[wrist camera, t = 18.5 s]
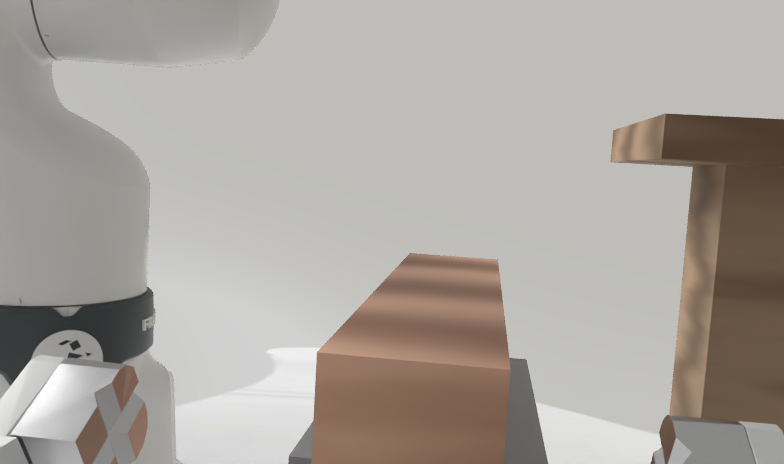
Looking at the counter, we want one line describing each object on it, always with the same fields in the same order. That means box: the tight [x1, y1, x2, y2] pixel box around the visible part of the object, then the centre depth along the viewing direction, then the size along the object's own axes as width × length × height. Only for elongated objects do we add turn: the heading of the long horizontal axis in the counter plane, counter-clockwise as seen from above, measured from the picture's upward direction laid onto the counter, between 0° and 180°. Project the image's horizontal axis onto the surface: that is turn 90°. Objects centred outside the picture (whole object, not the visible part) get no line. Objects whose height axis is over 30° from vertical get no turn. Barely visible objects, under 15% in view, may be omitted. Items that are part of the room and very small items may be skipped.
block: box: [311, 253, 511, 464], centre depth 25 cm, size 19×4×4 cm, turn 173°
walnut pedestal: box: [611, 114, 784, 434], centre depth 41 cm, size 14×14×26 cm
